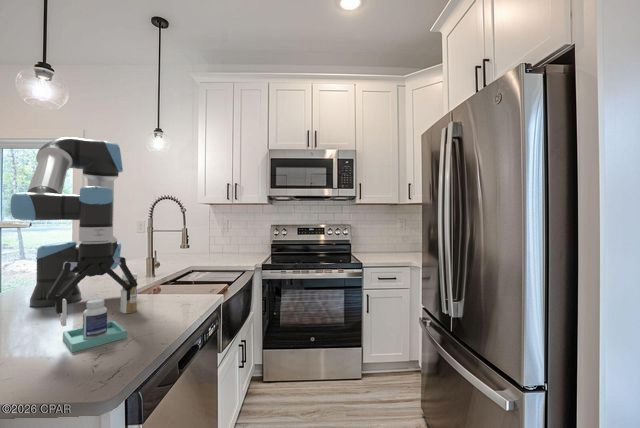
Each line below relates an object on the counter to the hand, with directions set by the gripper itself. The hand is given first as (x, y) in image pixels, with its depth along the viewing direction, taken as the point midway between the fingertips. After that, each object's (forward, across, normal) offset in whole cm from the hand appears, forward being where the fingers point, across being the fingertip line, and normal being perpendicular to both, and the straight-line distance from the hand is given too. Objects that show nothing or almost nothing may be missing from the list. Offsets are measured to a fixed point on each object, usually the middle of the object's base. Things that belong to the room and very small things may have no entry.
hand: (95, 318), depth 83 cm
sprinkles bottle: (+6, +14, +19) cm, 24 cm away
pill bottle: (+5, 0, 0) cm, 5 cm away
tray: (+5, 0, 0) cm, 6 cm away
